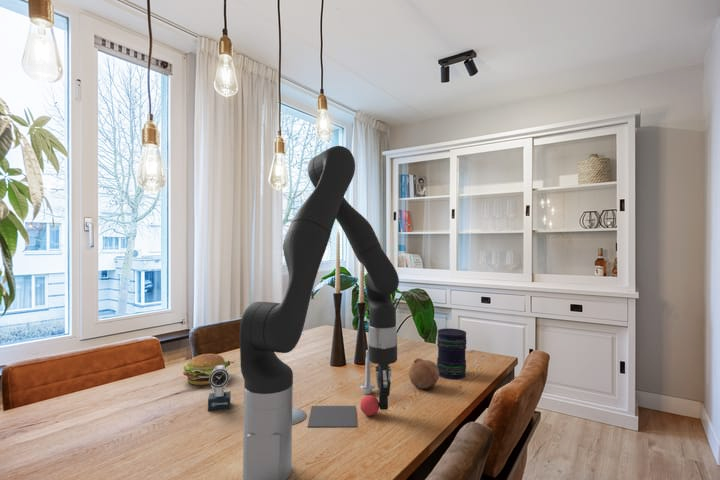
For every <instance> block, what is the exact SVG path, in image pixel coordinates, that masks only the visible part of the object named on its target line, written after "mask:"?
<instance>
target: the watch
mask: <svg viewBox="0 0 720 480" xmlns="http://www.w3.org/2000/svg"><path fill="white" fill-rule="evenodd" d="M231 377H232V376H230V375H229V372H228V370H227V367H226V368H225V365H220V366H216V367H215V368H214V370H213V372H212V374H211V375H210V378H209V381H210V384H209V385H211V386H210V387H211V389H212V392H210V393H208V394H209V395H208V398H207V412H211V411H222V410H230V409H231V396H232V395H231V394H232V393H231V391H225V390H226V388H227V385H228V383H229V380H231Z"/></svg>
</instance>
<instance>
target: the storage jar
mask: <svg viewBox="0 0 720 480" xmlns="http://www.w3.org/2000/svg"><path fill="white" fill-rule="evenodd" d="M436 339H437V344H436V346H437V351H438V352H437V358H436V359H437V362H436V366H437V367H438V370H439V378H443V379H445V380H451V381H453V380H458V381H459V380H463V379H465V378H466V376H467V374H466V372H467V360H466V350H467V331H466V330H462V329H458V328H439V329H438V330H437V338H436Z"/></svg>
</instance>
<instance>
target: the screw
mask: <svg viewBox="0 0 720 480" xmlns="http://www.w3.org/2000/svg"><path fill="white" fill-rule="evenodd" d="M364 361H365V363H364V365H365V366H364V367H365V368H364V382H361V383H360V384H359V388H360V389H362V393H363V394H365V395H371V394H372V393H373V390H375V389H376V387H377V384H375V383H374V382H372V373H371V372H372V369H371V368H372V362H370V361H369V349H366V350H365V359H364Z"/></svg>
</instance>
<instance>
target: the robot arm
mask: <svg viewBox="0 0 720 480" xmlns="http://www.w3.org/2000/svg"><path fill="white" fill-rule="evenodd" d="M355 172H356V161H355V157H354V155H353V153H352V152H351V150H350V149H349V148H347V147H345V146H343V145H335V146H332V147H329V148H327V149H325V150H323V151H322V152H320V153H319V154H317V155H315V156H314V157H313V158H311V159H310V160H309V162H308V165H307V174H308V178H309V180H310V182H311V184H312V185H313V187H314V189H313V191H312V192H311V193H310V194H309V196H308V197H307V198H306V199H305V201H304V202H303V203H302V205H301V206H299V208H298V210H297V212H296V213H295V215H294V216H293V218H292V220H291V221H290V225H289V226H288V230H287V232H286V234H285V236H284V240H283V245H282V248H283V249H282V250H283V256H284V261H285V263H286V267H287V272H288V282H287V283H288V284H287V287H286V291H285V294H284V296H283V299H282V301H281V302H270V301H255V302H252V303H250V304H249V305H248V306H247V307H246V308H245V310H243V313H242V317H241V319H240V324H239V353H240V354H239V355H240V356H239V358H240V373H241V375H242V378H243V380H244V384H243V385H244V386H243V388H244V390H243V395H244V396H243V439H242V440H243V441H242V442H243V443H242V444H243V445H242V449H243V451H242V458H243V459H242V479H243V480H288V478H289V477H290V475H291V474H292V470H293V469H292V465H293V464H292V462H293V461H292V460H293V458H292V457H293V455H292V454H293V450H292V449H293V447H292V446H293V424H292V408H293V397H294V393H293V391H294V389H293V388H294V387H293V386H294V385H293V384H294V372H293V370H292V368H291V367H290V365H288V364H286V363H285V362H283V361H282V360H281V359H280V358H279V357H278V355H277V354H276V353H278V354H279V353H280V354H286V353H287V354H288V353H290V352H292V351H293V350H294V349H296V347H297V344H298V343H299V341H300V339H301V337H302V333H303V331H304V328H305V326H304V325H305V324H306V323H305V322H306V320H307V319H306V318H307V315H308V311H309V310H308V309H309V307H310V306H309V305H310V301H311V297H312V293H313V290H314V285H315V283H316V279H317V275H318V272H319V269H320V266H321V263H322V260H323V258H324V255H325V254H326V253H325V252H326V250H327V247H328V243H329V242H330V241H329V240H330V237H331V234H332V230H333V227H334V225H335V222H336V221H337V223H338V224H339V225H340V227H341V230H342V231H343V233H344V234H345V237H346V238H347V241H348V243H349V245H350V247H351V249H352V251H353V254H354V255H355V258H356V260H358V262H360V264H361V265H362V266H363V267H364V269H365V270H366V272H367V273H366V275H365V276H366V277H365V293H366V297H367V303H368V309H369V311H368V321H369V322H368V323H369V325H368V334H367V335H368V340H367V341H368V344H367V345H368V350H369V361H370V362H371V364H375V365H376V366H374V367H375V368H374V370H375V372H374V373H375V377H376V379H375V383H376V387H377V388H378V389H377V392H378V401H379V410H381V411H385V410H386V411H387V410H388V409H389V396H390V394H391V393H390V392H391V384H392V383H391V377H392V368H391V366H390V365H391V364H395V363H396V362H397V360H398V332H397V311H396V310H397V309H396V306H395V305H394V304H395V303H393V301H392V298H391V295H392V294H394V293H395V292H396V291H397V290H398V287H399V284H400V278H399V274H398V273H397V270H396V268H395V266H394V265H393V263H392V262H391V260H390V259H389V257H388V256H387V254H386V253H385V251H384V250H383V248H382V245H381V243H380V240H379V239H378V237H377V235H376V232H375V231H374V228H373V227H372V225H371V224H370V222H369V221H368V220H367V219H366V218H365V217H364V216H363V215H362V214H361V213H360V212H359V211H358V210H356V209H355V207H353V206H352V205H351V204H350V203H349V202H348V200H346V199H347V198H345V195H346V193H347V191H348V189H349V186H350V185H351V183H352V181H353V179H354V176H355Z"/></svg>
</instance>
